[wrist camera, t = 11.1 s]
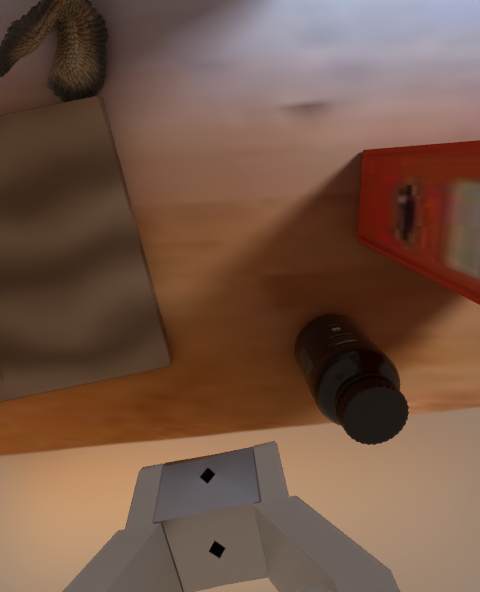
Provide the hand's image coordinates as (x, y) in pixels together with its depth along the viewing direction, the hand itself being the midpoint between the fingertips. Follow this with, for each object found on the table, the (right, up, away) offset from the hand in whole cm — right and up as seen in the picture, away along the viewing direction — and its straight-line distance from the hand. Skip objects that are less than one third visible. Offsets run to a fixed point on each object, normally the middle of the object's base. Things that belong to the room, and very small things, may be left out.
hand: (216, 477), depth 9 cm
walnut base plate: (-19, +6, +27) cm, 33 cm away
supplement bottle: (+9, -1, +31) cm, 33 cm away
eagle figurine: (-12, +24, +22) cm, 35 cm away
